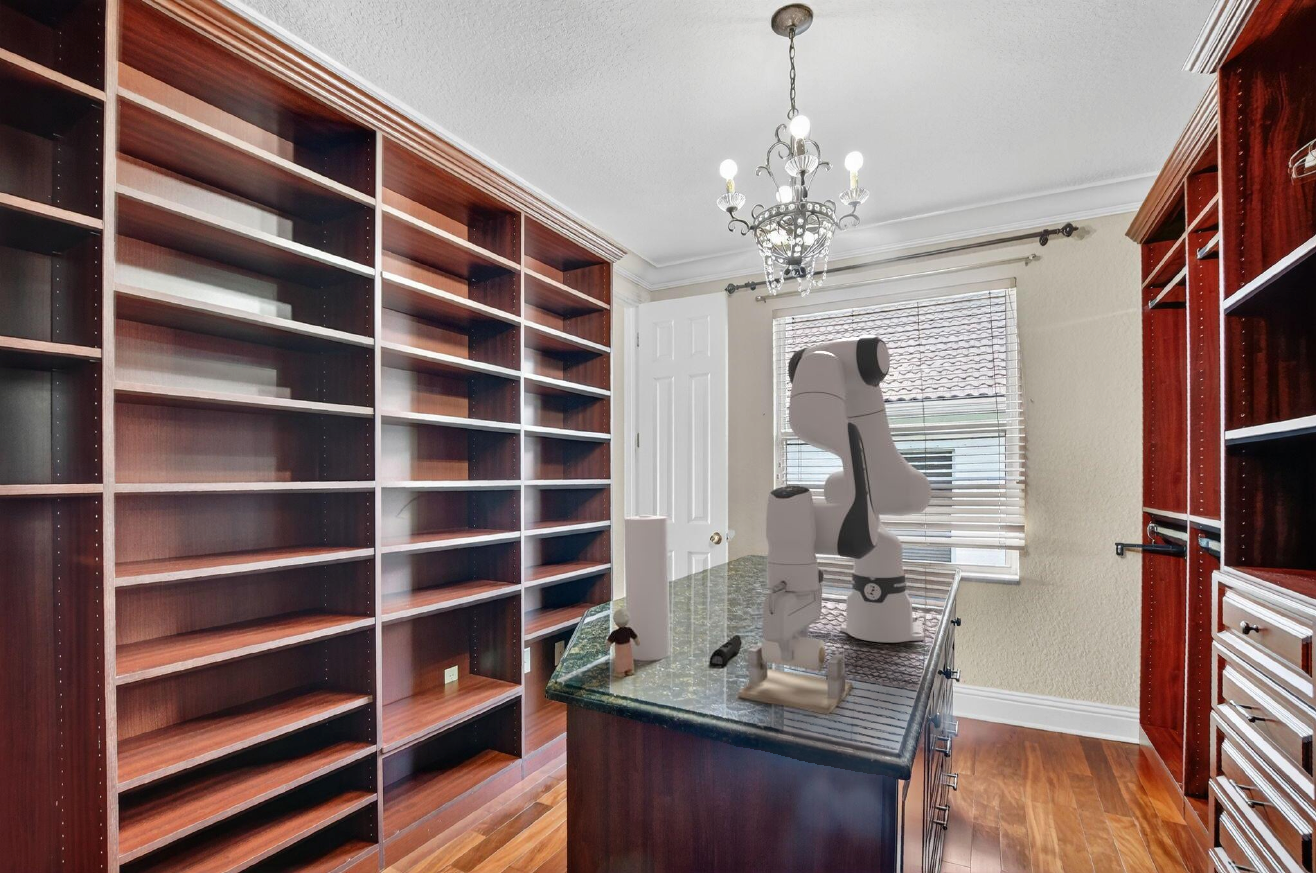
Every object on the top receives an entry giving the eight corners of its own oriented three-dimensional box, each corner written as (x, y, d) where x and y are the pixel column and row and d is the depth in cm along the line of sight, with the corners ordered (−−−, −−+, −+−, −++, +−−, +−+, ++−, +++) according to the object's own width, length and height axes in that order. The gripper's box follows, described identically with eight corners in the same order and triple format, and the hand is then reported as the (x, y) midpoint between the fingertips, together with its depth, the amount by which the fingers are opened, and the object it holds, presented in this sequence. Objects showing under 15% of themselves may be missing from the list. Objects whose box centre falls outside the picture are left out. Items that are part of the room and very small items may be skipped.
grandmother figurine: (630, 667, 128) (629, 604, 129) (643, 671, 126) (641, 607, 126) (600, 677, 123) (599, 611, 124) (613, 681, 120) (612, 614, 121)
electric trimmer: (746, 648, 141) (745, 634, 142) (725, 668, 127) (725, 652, 127) (730, 647, 143) (729, 633, 143) (707, 667, 129) (707, 651, 129)
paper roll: (764, 668, 115) (757, 647, 113) (773, 646, 119) (766, 626, 117) (821, 677, 109) (815, 655, 107) (829, 654, 113) (823, 633, 111)
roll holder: (769, 673, 123) (768, 637, 123) (852, 687, 114) (851, 648, 115) (738, 696, 111) (737, 656, 111) (828, 714, 102) (827, 670, 103)
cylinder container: (619, 658, 135) (617, 516, 137) (637, 646, 144) (635, 513, 145) (660, 662, 132) (657, 517, 133) (676, 649, 140) (673, 513, 142)
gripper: (787, 588, 103) (790, 675, 102) (827, 570, 120) (829, 644, 120) (751, 585, 106) (754, 669, 106) (795, 568, 124) (797, 640, 123)
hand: (794, 656), depth 113 cm, fingers closed on paper roll, 5 cm apart
